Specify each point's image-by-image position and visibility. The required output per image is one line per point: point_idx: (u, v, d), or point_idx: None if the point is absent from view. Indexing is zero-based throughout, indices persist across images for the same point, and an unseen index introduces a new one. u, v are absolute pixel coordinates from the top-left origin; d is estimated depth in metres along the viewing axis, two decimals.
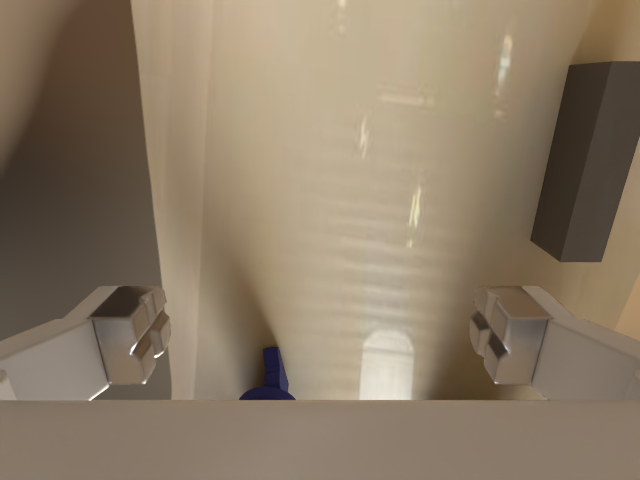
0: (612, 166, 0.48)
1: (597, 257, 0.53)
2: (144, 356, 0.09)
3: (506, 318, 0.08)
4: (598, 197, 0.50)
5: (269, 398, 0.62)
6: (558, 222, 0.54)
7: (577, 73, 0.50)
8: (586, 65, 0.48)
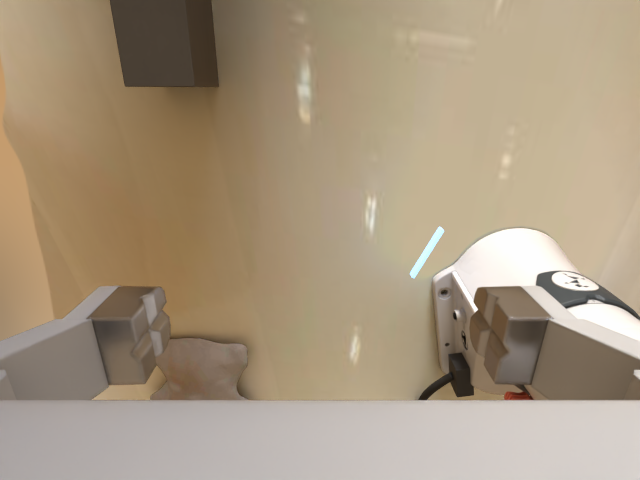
0: None
1: None
2: (144, 356, 0.09)
3: (507, 318, 0.08)
4: None
5: None
6: None
7: (212, 74, 0.36)
8: (209, 84, 0.36)
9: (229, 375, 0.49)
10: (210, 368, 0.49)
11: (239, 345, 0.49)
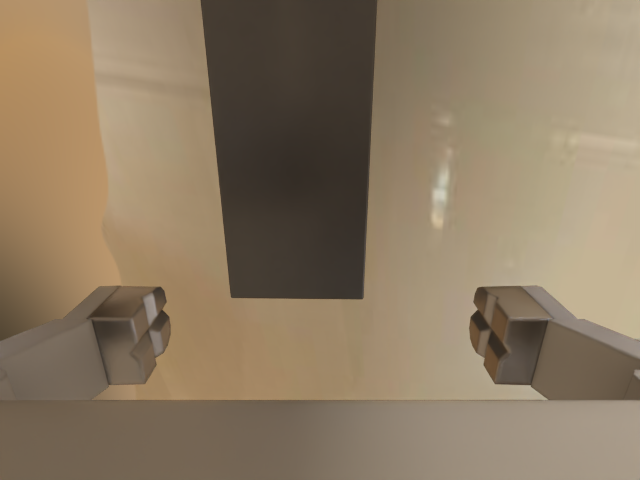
0: None
1: None
2: (144, 356, 0.09)
3: (507, 318, 0.08)
4: None
5: None
6: None
7: None
8: None
9: None
10: None
11: None
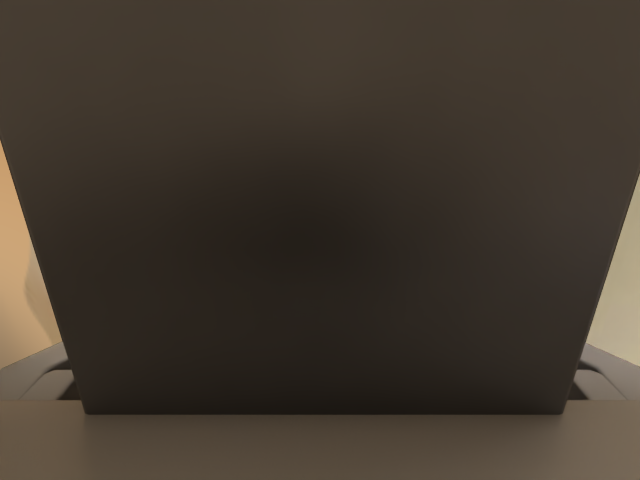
0: None
1: None
2: None
3: None
4: None
5: None
6: None
7: None
8: None
9: None
10: None
11: None
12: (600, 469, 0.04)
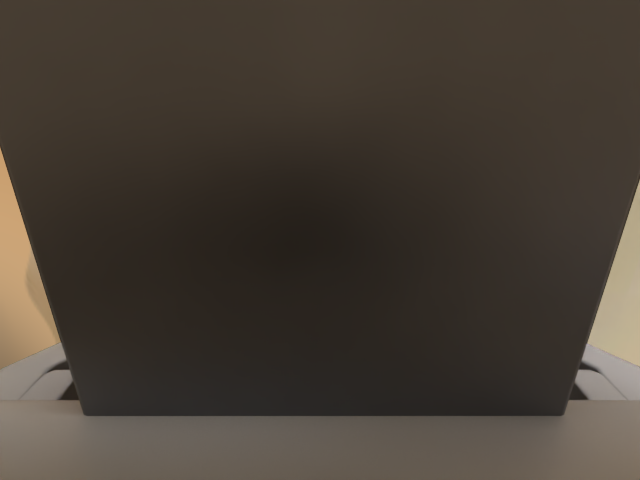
0: None
1: None
2: None
3: None
4: None
5: None
6: None
7: None
8: None
9: None
10: None
11: None
12: (600, 469, 0.04)
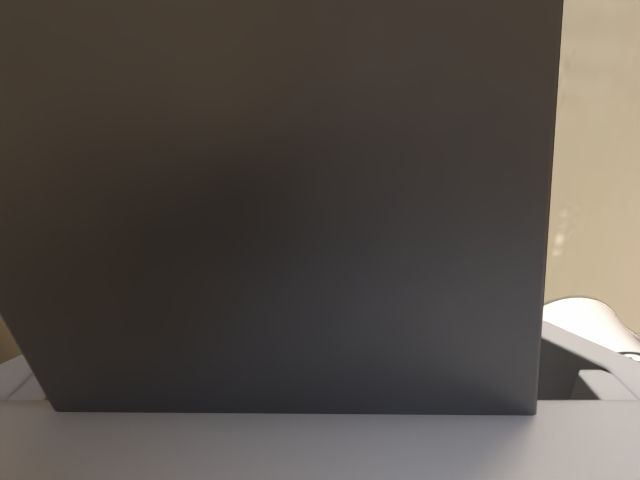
0: None
1: None
2: None
3: None
4: None
5: None
6: None
7: None
8: None
9: None
10: None
11: None
12: (600, 469, 0.04)
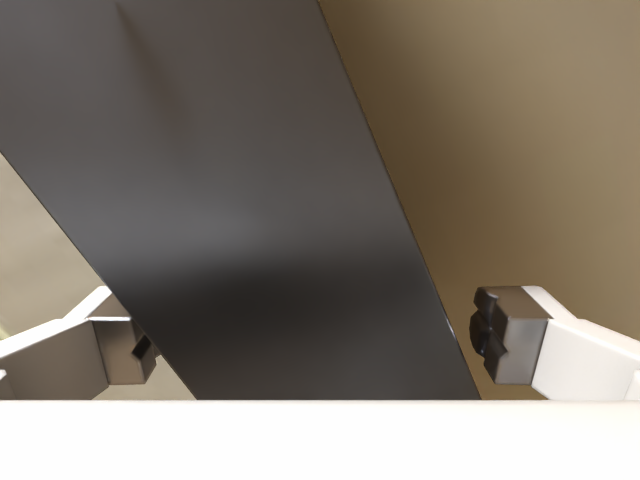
0: (112, 65, 0.06)
1: None
2: (144, 356, 0.09)
3: (507, 318, 0.08)
4: None
5: None
6: None
7: None
8: None
9: None
10: None
11: None
12: (600, 469, 0.04)
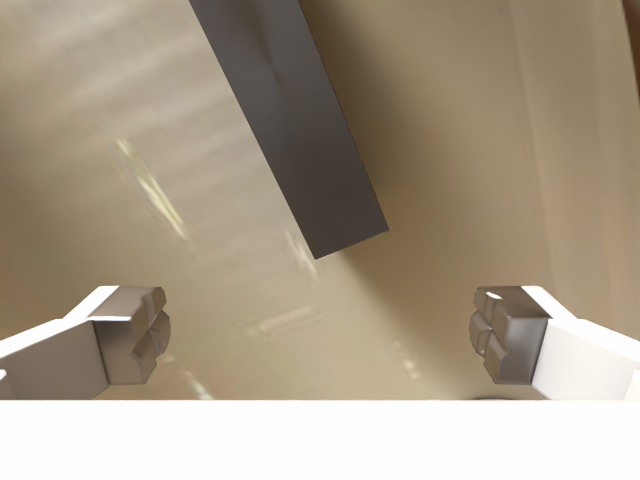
0: (270, 84, 0.24)
1: None
2: (144, 356, 0.09)
3: (507, 318, 0.08)
4: (249, 10, 0.22)
5: None
6: None
7: None
8: None
9: None
10: None
11: None
12: (600, 469, 0.04)
